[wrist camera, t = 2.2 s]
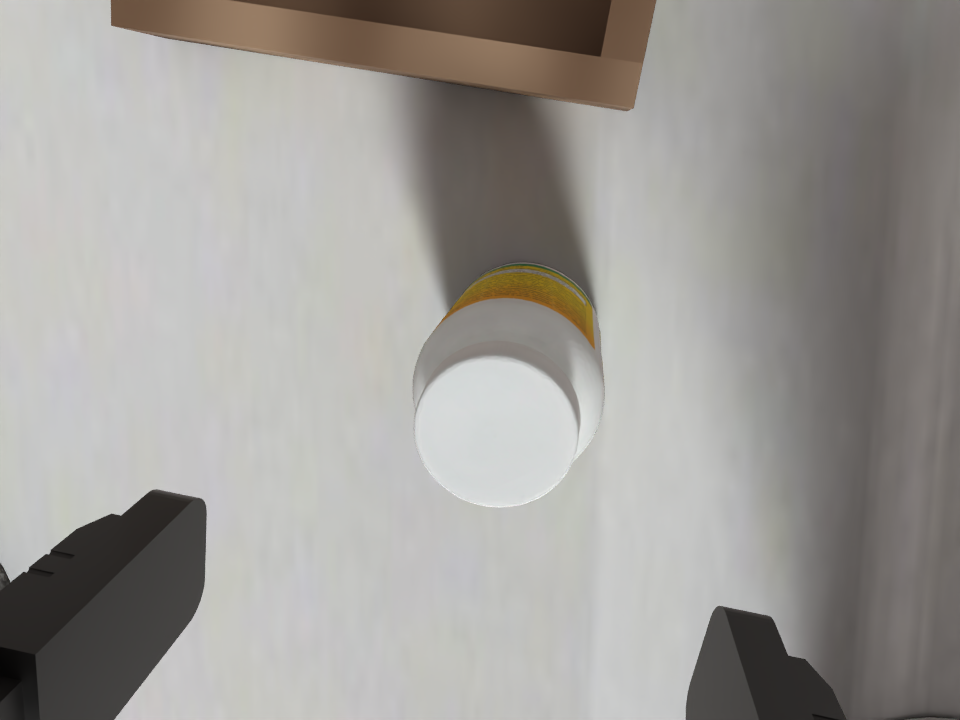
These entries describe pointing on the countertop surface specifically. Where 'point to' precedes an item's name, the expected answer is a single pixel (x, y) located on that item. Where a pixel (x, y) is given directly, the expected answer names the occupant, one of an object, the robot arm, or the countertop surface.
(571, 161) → the countertop surface
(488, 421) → the supplement bottle
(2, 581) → the salt shaker
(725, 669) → the robot arm
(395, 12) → the tray
